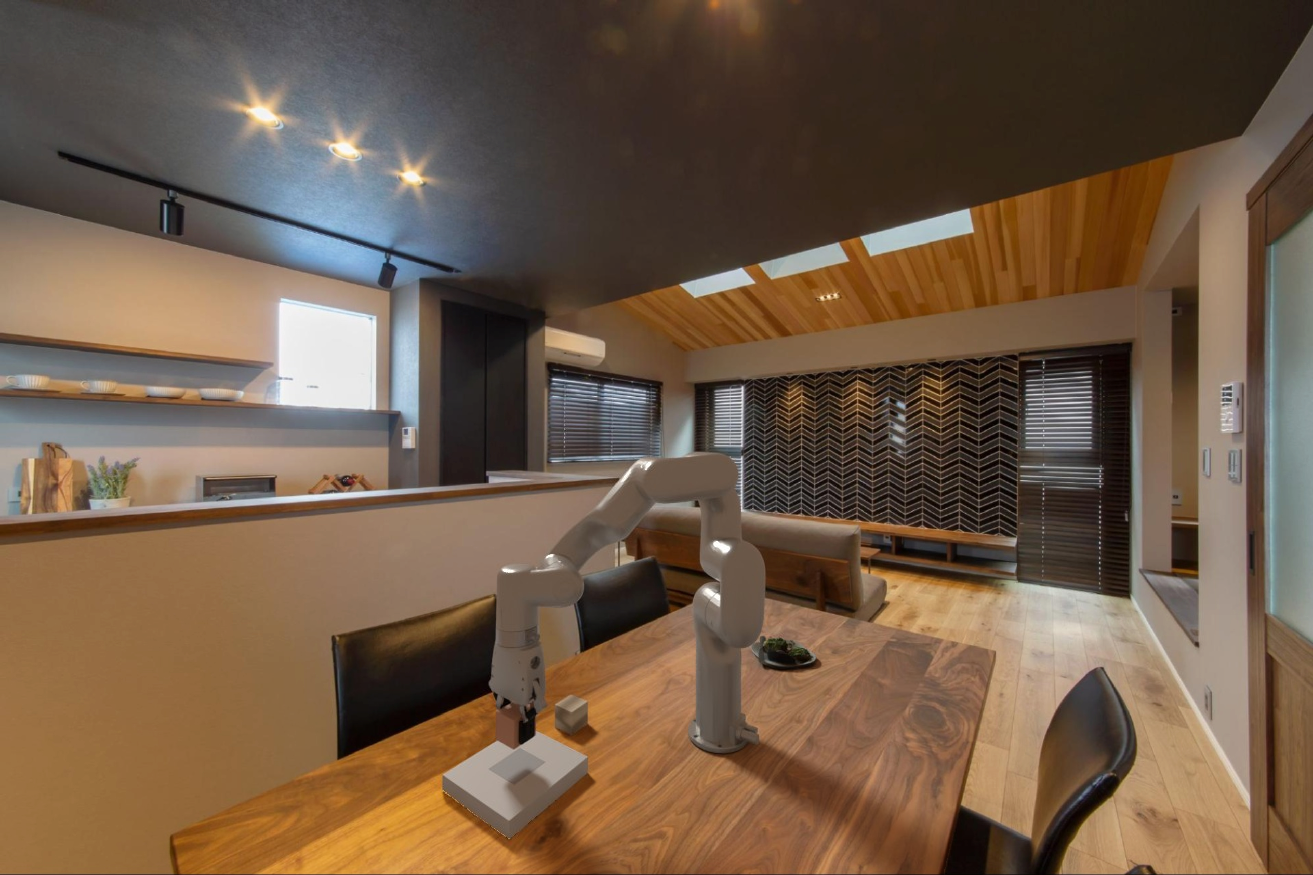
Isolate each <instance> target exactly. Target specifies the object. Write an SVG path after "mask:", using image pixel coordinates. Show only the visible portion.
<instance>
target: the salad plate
mask: <svg viewBox="0 0 1313 875" xmlns="http://www.w3.org/2000/svg"><path fill="white" fill-rule="evenodd" d="M750 650H751V652H752V653H753V654H754V655H755V657H757V661H758V663H760V664H762V665H764V666H765V667H767V668H771V669H772V670H778V671H794V670H803V669H808V668H811V667H812V666H814V665H815V664H816V662H817V655H816V654H815V653H813V652H812V651H811V650H809V649H808V648H806V647H805V646H804V645H803V644H802V643H800V642H799V641H796V640H791V639H786V638H785V639H783V638H782V637H774V638H772V636H769V637H768V638H766V636H765V635H760V636H759V641H757V642H755V643H754V644H752V645H751V646H750Z"/></svg>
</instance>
